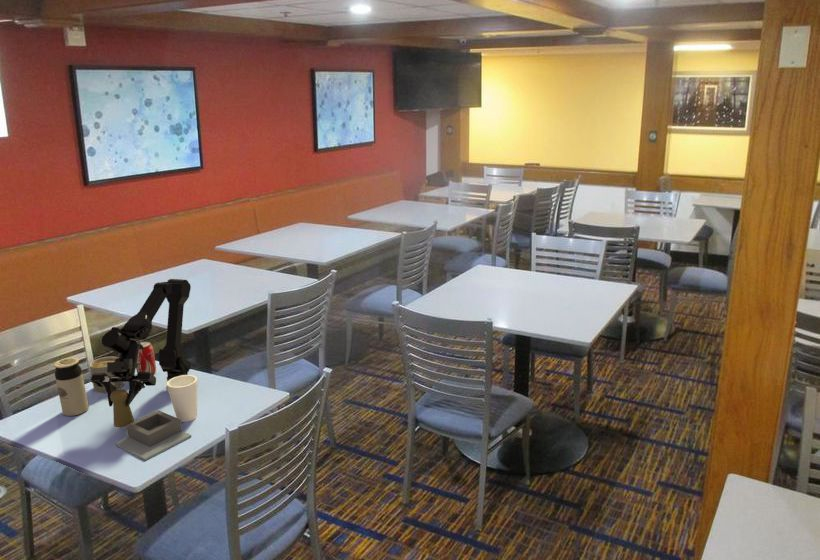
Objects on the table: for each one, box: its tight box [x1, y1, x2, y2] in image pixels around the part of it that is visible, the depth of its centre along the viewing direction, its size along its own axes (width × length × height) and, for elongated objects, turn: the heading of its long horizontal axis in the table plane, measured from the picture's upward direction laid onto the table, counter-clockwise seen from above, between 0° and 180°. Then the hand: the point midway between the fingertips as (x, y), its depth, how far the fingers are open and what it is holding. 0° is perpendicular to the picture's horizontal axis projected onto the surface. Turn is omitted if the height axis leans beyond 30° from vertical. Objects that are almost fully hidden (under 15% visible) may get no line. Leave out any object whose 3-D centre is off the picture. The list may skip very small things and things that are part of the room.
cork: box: [110, 388, 136, 429], centre depth 208 cm, size 6×6×11 cm
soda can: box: [135, 341, 157, 375], centre depth 251 cm, size 7×7×12 cm
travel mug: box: [53, 357, 90, 417], centre depth 223 cm, size 8×8×18 cm
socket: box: [114, 410, 192, 461], centre depth 204 cm, size 16×16×5 cm
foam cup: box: [166, 374, 199, 423], centre depth 217 cm, size 10×9×13 cm
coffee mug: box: [89, 355, 125, 394], centre depth 241 cm, size 13×10×10 cm
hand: (118, 405), depth 206 cm, fingers closed on cork, 5 cm apart
